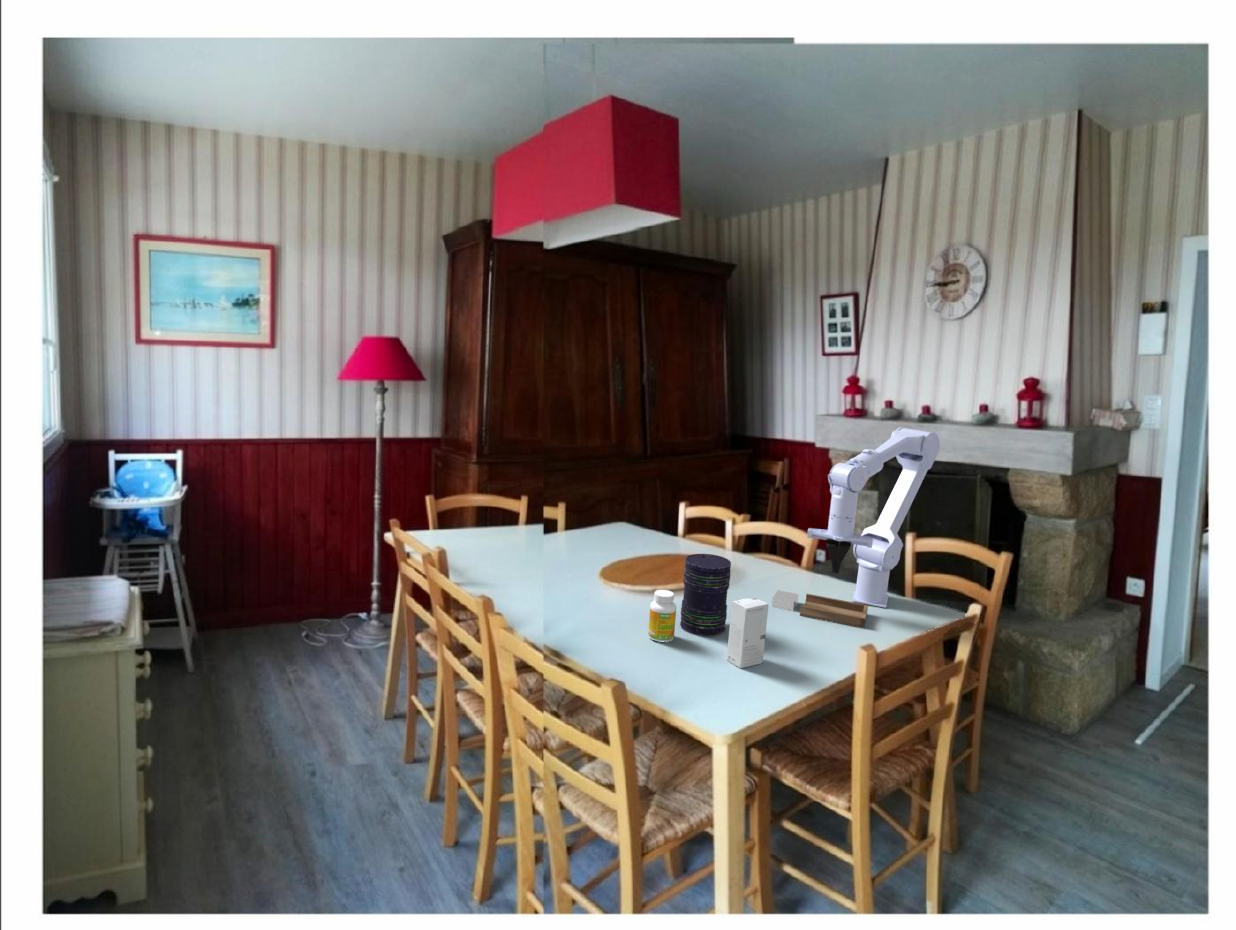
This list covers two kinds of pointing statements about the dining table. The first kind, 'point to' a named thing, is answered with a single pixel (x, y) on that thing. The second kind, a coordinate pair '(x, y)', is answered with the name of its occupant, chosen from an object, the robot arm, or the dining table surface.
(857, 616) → the wooden box
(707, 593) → the dark blue cylinder
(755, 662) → the skincare box
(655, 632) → the supplement bottle
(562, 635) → the dining table surface
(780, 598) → the cover plate
